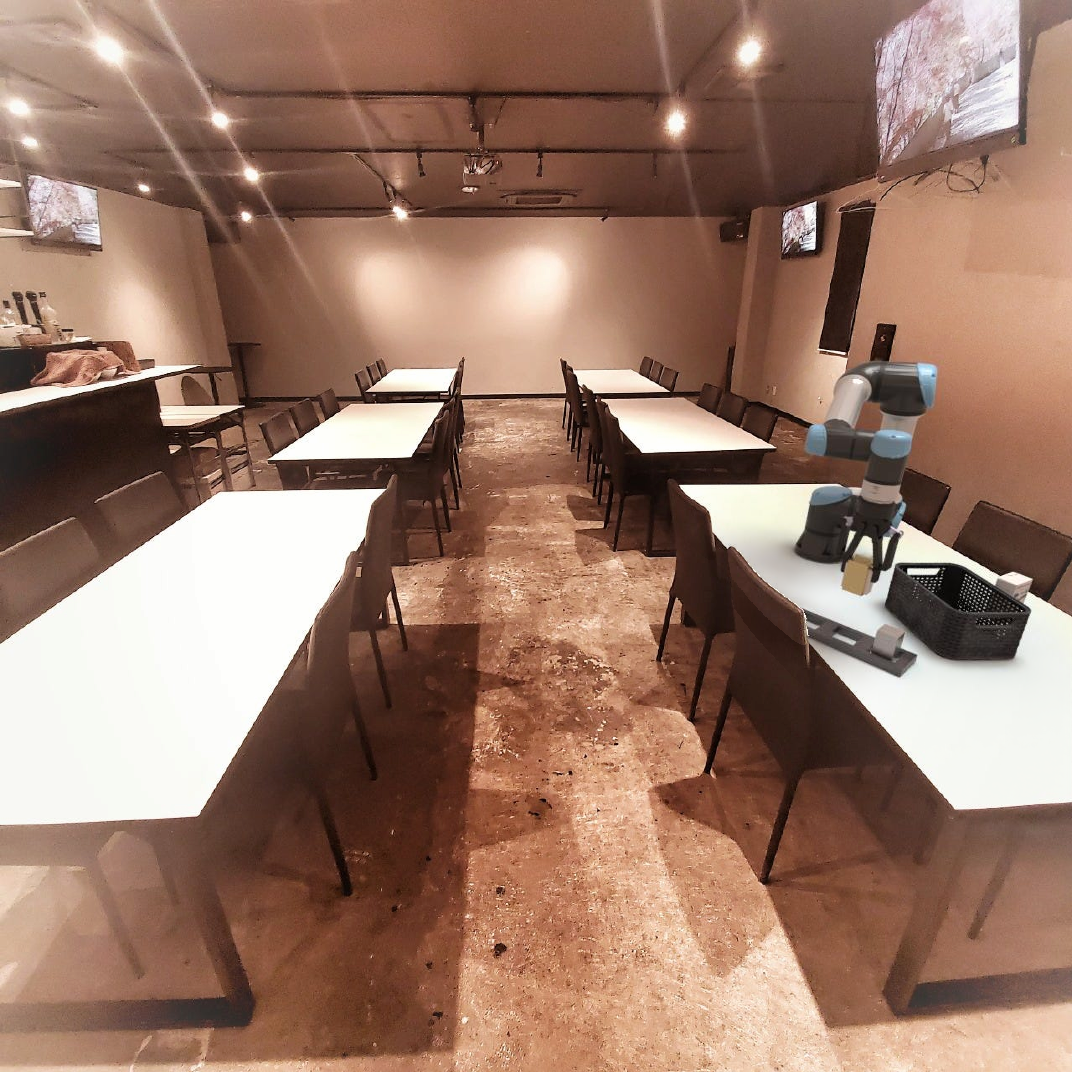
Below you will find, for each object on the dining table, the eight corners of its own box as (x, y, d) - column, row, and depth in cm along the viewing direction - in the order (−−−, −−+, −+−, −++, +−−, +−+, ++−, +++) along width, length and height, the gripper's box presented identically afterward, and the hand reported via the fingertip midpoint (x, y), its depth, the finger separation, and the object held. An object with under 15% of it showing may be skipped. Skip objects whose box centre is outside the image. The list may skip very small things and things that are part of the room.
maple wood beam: (841, 589, 144) (848, 559, 141) (850, 583, 147) (857, 554, 144) (860, 596, 141) (868, 566, 138) (869, 590, 144) (876, 561, 141)
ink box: (1002, 623, 158) (1017, 585, 154) (983, 615, 162) (996, 577, 158) (1020, 616, 162) (1034, 578, 158) (1000, 608, 166) (1013, 571, 162)
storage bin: (878, 602, 169) (890, 560, 164) (945, 603, 169) (959, 561, 164) (942, 661, 143) (958, 613, 137) (1021, 661, 143) (1040, 613, 138)
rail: (779, 624, 158) (780, 617, 157) (796, 612, 163) (798, 606, 162) (900, 676, 136) (902, 669, 136) (915, 661, 142) (917, 654, 141)
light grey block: (869, 658, 143) (877, 630, 140) (877, 651, 146) (885, 623, 143) (889, 666, 140) (897, 638, 137) (897, 659, 143) (905, 631, 140)
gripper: (832, 492, 139) (813, 580, 148) (913, 512, 127) (887, 607, 136) (846, 486, 144) (827, 572, 153) (926, 505, 131) (900, 597, 140)
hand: (855, 588), depth 144 cm, fingers closed on maple wood beam, 5 cm apart
